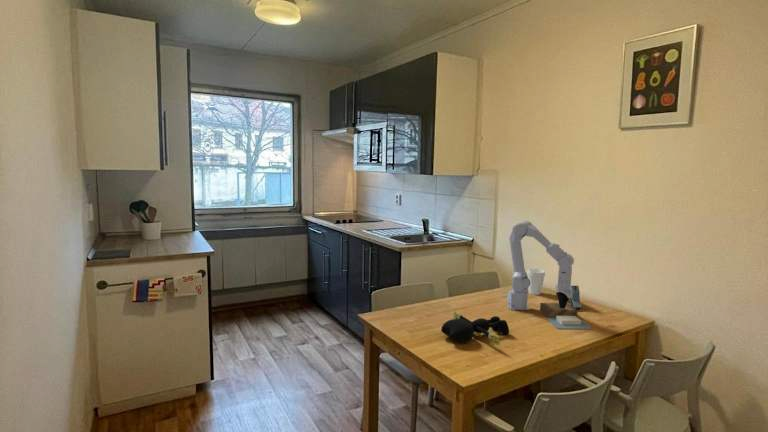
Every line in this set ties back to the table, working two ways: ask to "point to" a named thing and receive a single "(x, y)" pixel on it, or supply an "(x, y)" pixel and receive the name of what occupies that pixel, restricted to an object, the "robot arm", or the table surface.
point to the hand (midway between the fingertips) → (562, 307)
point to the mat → (559, 326)
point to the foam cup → (535, 280)
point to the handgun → (575, 297)
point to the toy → (474, 328)
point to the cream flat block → (568, 320)
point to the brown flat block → (557, 310)
